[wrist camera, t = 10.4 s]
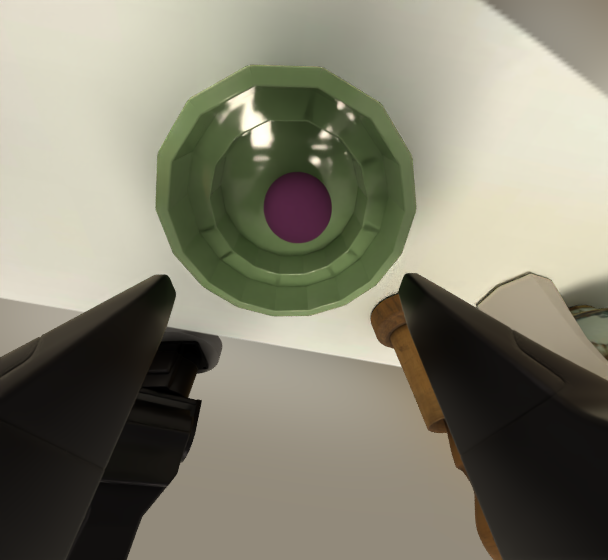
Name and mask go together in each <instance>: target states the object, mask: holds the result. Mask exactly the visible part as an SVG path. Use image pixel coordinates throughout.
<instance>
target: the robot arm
mask: <svg viewBox="0 0 608 560" xmlns="http://www.w3.org/2000/svg"><path fill="white" fill-rule="evenodd" d="M175 298H176V292H175V289H174V287H173V285H172V282H171V280H170V278H169V277H168V276H167V275H153V276H152V277H150V278H148V279H146V280H144V281H142V282H140V283H139V284H137V285H135V286H133V287H131V288H129V289H127V290H125V291H124V292H122V293H120V294H118V295H116V296H114V297H112V298H111V299H109V300H107V301H105V302H103V303H101V304H99V305H97V306H96V307H94V308H92V309H90V310H88V311H86V312H84V313H83V314H81V315H79V316H77V317H75V318H74V319H71V320H69V321H68V322H66V323H64V324H62V325H60V326H58V327H57V328H55V329H53V330H51V331H49V332H47V333H45V334H43V335H42V336H41V337H38V338H36V339H34V340H32V341H30V342H29V343H26V344H25V345H23V346H21V347H19V348H17V349H15V350H13V351H11V352H9V353H8V354H6V355H4V356H2V357H0V560H127V557H128V554H129V552H130V548H131V546H132V543H133V540H134V538H135V535H136V532H137V529H138V527H139V524H140V521H141V519H142V516H143V515H144V514H145V513H146V511H147V510H148V509H149V508H150V507H151V505H152V504H153V503H154V502H155V500H156V499H157V498H158V497H159V496H160V494H161V493H162V492H163V491H164V489H165V488H166V487H167V486H168V485H169V484H170V482H171V481H172V480H173V479H174V477H175V476H176V474H177V472H178V469H179V465H180V463H181V462H183V461H184V459H185V458H186V456H187V454H188V452H189V450H190V447H191V445H192V442H193V439H194V436H195V432H196V427H197V421H198V417H199V412H200V407H201V402H202V400H194V399H190V398H188V397H189V394H190V391H191V388H192V385H193V383H194V380H195V377H196V374H197V371H198V370H207V369H208V368H209V364H208V362H207V360H206V358H205V355H204V353H203V351H202V349H201V346H200V344H199V342H197V341H161V340H162V338H163V336H164V333H165V330H166V327H167V324H168V321H169V318H170V314H171V311H172V308H173V304H174V301H175ZM399 298H400V301H401V305H402V309H403V312H404V316H405V319H406V323H407V326H408V329H409V332H410V334H411V337H412V339H413V342H414V344H415V347H416V349H417V352H418V354H419V357H420V359H421V361H422V364H423V366H424V369H425V371H426V374H427V376H428V379H429V381H430V384H431V386H432V388H433V391H434V393H435V396H436V398H437V401H438V403H439V406H440V408H441V410H442V413H443V415H444V418H445V420H446V423H447V425H448V428H449V430H450V433H451V435H452V437H453V440H454V442H455V445H456V447H457V450H458V452H459V454H460V455H461V456H460V458H461V460H462V462H463V465H464V467H465V470H466V472H467V475H468V477H469V480H470V482H471V484H472V487H473V489H474V492H475V494H476V497H477V499H478V502H479V504H480V507H481V509H482V511H483V514H484V516H485V519H486V521H487V524H488V526H489V529H490V531H491V533H492V536H493V538H494V541H495V543H496V546H497V548H498V551H499V553H500V555H501V557H502V559H503V560H608V380H606V379H604V378H602V377H600V376H599V375H597V374H595V373H593V372H591V371H589V370H587V369H585V368H583V367H581V366H579V365H577V364H575V363H574V362H572V361H570V360H568V359H566V358H564V357H562V356H560V355H558V354H557V353H555V352H553V351H551V350H549V349H547V348H545V347H544V346H542V345H540V344H538V343H536V342H535V341H533V340H531V339H529V338H528V337H526V336H524V335H522V334H521V333H519V332H517V331H516V330H512V329H511V328H510V327H509V326H507V325H505V324H503V323H502V322H500V321H498V320H496V319H495V318H493V317H491V316H490V315H488V314H486V313H484V312H483V311H481V310H479V309H477V308H476V307H474V306H472V305H471V304H469V303H467V302H465V301H464V300H462V299H460V298H459V297H457V296H455V295H453V294H452V293H450V292H448V291H446V290H445V289H443V288H441V287H440V286H438V285H436V284H434V283H433V282H431V281H429V280H427V279H426V278H424V277H422V276H421V275H419V274H417V273H407V274H405V275H404V277H403V280H402V282H401V285H400V288H399Z"/></svg>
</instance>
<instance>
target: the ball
mask: <svg viewBox="0 0 608 560" xmlns="http://www.w3.org/2000/svg"><path fill="white" fill-rule="evenodd" d="M331 213H332V202H331V198H330V195H329V192H328V190H327V188H326V187H325V186H324V184H323V183H322V182H321V181H320V180H319V179H317V178H316V177H314V176H312V175H311V174H308V173H304V172H291V173H287V174H285V175H282V176H281V177H279V178H278V179H276V180H275V181H274V182H273V183H272V184H271V186H270V187H269V189H268V191H267V193H266V195H265V199H264V216H265V219H266V222H267V224H268V226H269V227H270V229H271V230H272V232H273V233H274V234H275V235H277V236H278V237H279V238H281V239H282V240H285V241H287V242H290V243H306V242H309V241H312V240H314V239H315V238H317V237H318V236H319V235H321V234H322V233H323V231H324V230H325V229H326V227H327V226H328V224H329V221H330V218H331Z"/></svg>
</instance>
